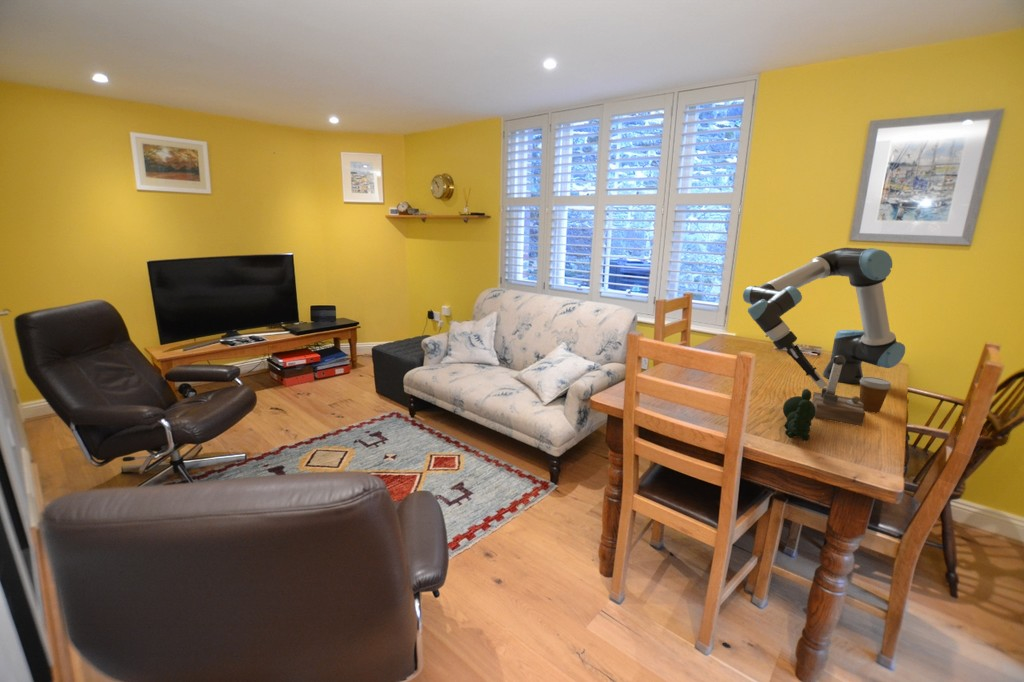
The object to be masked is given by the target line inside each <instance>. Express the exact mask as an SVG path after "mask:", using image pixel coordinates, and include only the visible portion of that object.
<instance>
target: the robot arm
mask: <svg viewBox="0 0 1024 682" xmlns="http://www.w3.org/2000/svg"><path fill="white" fill-rule="evenodd" d="M809 261H810V262H808V263H806V264H803V265H802V266H799V267H798V268H796V269H793V270H791V271H789V272H787V273H785V274H782V275H781V276H778V277H776V278H774V279H771V280H769V281H768V282H767V281H766V282H765V283H762V284H761V285H758V286H756V285H750V286H747V287H746V288H745V289H744V291H743V293H742V298H743V301H744V302H745V303H746V304H749V305H751V306H749V307H748V309H747V313H748V314H749V316H750V317H751V319H752V320H753V321H754V322H755V324H757V326H759V328H760V329H761V330H762V331H763V333H764V334H765V335H764V336H765V338H769V340H770V341H773V345H774V346H775V347H776V348H777V349H778V350H783V349H785V348H786V353H787V354H788V355H789V356H790V357H791V358H792V359H793V360H794V362H796V363H797V364H798V366H800V368H801V369H802V370H803V371H804V372H805V376H806V377H807V376H808V377H810V378H811V380H812V381H813V382H814V384H815V385H816V386H817V387H818V388H819V390H822V388H826V387H827V385H828V383H827V382H826V381H825V379H823V377H824V378H826V379H828V378H830V374H831V370H832V367H833V358H834V357H835V356H836V355H841V356H843V357H844V358H845V363H844V364H843V365H842V369H841V372H840V376H839V379H838V383H846V384H860V380H861V378H862V377H864V373H863V369H862V364H863V363H866V364H869V365H873V366H876V367H879V368H880V367H881V368H883V369H884V368H886V369H890V368H894V367H896V366H897V365H899V363H900V362H902V360H903V358H904V356H905V353H906V346H905V344H904V343H902V342H898V341H897V338H896V334H895V332H893V331H891V330H890V323H889V317H888V311H887V304H886V297H885V292H884V285H883V283H884V282H885V281H886V280H887V277H888V276H889V275H890V274H891V271H892V270H891V269H893V259H892V257H891V255H890V254H889V253H888V252H887V251H885V250H883V249H877V248H873V247H872V248H859V247H857V248H856V247H841V248H837V249H832V250H830V251H827V252H824V253H822V254H819V255H817V256H815V257H813V258H812V259H811V260H809ZM832 276H834V277H836V276H840V277H846V278H848V279H849V284H850V285H851V287H854V288H855V292H856V298H857V302H858V308H859V313H860V318H861V324H862V328H863V330H859V329H840V330H838V331H836V333H835V336H834V338H833V339H834V340H833V344H832V345H833V346H832V350H831V354H830V355H831V356H830V360H829V362H828V363H827V364H826V366H825V368H824V369H823V373H822V376H823V377H822V376H821V375H820V374H819V372H818V371H817V367H814V366H813V364H811V362H810V361H809V360H808V359H807V357H806V355H804V352H803V351H801V349H800V346H798V344H796V345H795V344H794V343H795V342H796V341H797V340H798V337H797V336H796V334H795V333H794V332H793V331H792V330H791V329H790V327H789V326H788V325H787V324H786V323H785V321H784V320H783V319H782V318H781V317H782V316H784V314H786V313H787V312H789V311H790V310H792V309H793V308H795V307H797V305H798V304H799V303H800V302H801V301H802V299H803V295H802V293H801V291H800V290H799V289H798V288H801V287H803V286H805V285H807V284H810V283H812V282H813V281H816V280H818V279H822V280H823V279H825V278H828V277H832ZM790 330H791V331H790Z"/></svg>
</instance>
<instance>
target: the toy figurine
mask: <svg viewBox="0 0 1024 682" xmlns="http://www.w3.org/2000/svg"><path fill="white" fill-rule="evenodd" d="M811 399H812V392H811V389H808V388H805V389H802V393H801V395H800V396H799V395H798V396H795V395H794V396H792V397H789V398H788V399H787V400H785V401H784V404H783V407H782V411H783V415H784V417H785V418H786V422H785V423H784V424H783V425H784V426H783V427H784V429H786V430H785V431H784V434H785V435H787V437H788V438H790V439H794V438H795V437H796V438H801V440H802V441H803V442H808V441H809V440H810V438H811V437H810V432H811V426H812V425H813V424H812V421H813V420H814V418H815V413H816V410H815V406H814V404H813V403H812V401H811Z"/></svg>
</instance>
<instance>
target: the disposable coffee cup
mask: <svg viewBox="0 0 1024 682" xmlns="http://www.w3.org/2000/svg"><path fill="white" fill-rule="evenodd" d="M859 387H860V389H859V398H860V401H859V402H861V403H863V404H864V405H863V407H862V408H863V410H864V412H866V411H868V412H867V413H871V412H875V413H874V414H877V412H879V413H880V411H881V408H882V406H883V404H884V402H885V400H886V397H887V395H888V393H889V391H890V390H891V388H892V385H891V382H890V381H889V380H887V379H884V378H880V377H874V376H863V377H862V378H861V380H860V383H859Z"/></svg>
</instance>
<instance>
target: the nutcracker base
mask: <svg viewBox="0 0 1024 682" xmlns="http://www.w3.org/2000/svg"><path fill="white" fill-rule="evenodd" d="M826 389H827V387H823V388H821V392H817V391H814V392H813V395H812V398H811V399H812V401H811V402H812V403H813V404H814V406H815V410H816V413H815V417H814V418H815V419H820V420H824V419H825V421H830V420H831V422H835V421H836V422H837V423H841V422H842V423H841V424H846V423H847V424H846V425H851V424H852V426H857V425H858V426H857V427H863V424H864V421H865V417H866V411H864V410H863V408H862V407H863V405H864V404H863V403H861V402H859V401H860V396H857V395H855V396H853V397H848V396H841V395H836V392H837V390H835V394H834V395H832V394H826Z"/></svg>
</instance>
